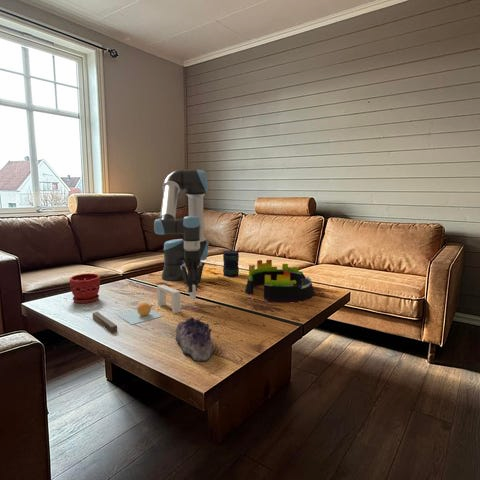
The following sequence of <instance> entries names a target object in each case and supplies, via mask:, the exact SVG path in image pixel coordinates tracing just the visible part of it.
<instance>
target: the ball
mask: <svg viewBox="0 0 480 480" xmlns="http://www.w3.org/2000/svg"><path fill="white" fill-rule="evenodd" d="M136 310H137V311H138V313H139V314H140V315H141V316H146V315H148V314H149V313H150V311H151V310H152V307H151V305H150V304H149V303H147V302H142V303H140V304H139V305H138V306H137V309H136Z"/></svg>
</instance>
